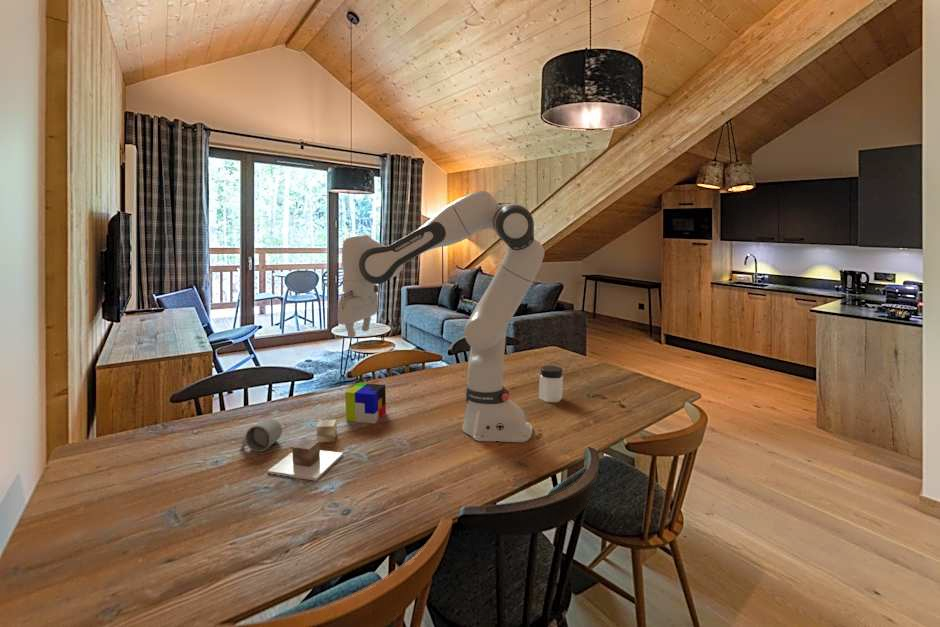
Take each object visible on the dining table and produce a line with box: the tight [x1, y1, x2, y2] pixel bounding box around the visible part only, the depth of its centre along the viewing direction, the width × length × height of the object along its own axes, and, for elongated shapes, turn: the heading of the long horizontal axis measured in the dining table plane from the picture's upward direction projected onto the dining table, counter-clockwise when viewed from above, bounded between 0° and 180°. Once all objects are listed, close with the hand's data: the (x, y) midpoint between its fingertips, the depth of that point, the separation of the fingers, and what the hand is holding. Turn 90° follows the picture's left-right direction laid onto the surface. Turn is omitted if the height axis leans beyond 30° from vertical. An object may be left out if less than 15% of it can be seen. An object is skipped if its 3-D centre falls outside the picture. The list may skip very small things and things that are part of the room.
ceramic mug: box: [240, 418, 283, 452], centre depth 138 cm, size 11×8×8 cm
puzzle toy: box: [344, 382, 387, 424], centre depth 161 cm, size 10×10×10 cm
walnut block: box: [291, 438, 321, 467], centre depth 128 cm, size 5×5×5 cm
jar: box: [538, 365, 564, 403], centre depth 180 cm, size 9×8×12 cm
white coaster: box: [267, 449, 344, 482], centre depth 128 cm, size 14×14×1 cm
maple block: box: [316, 419, 338, 443], centre depth 144 cm, size 5×5×5 cm
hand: (358, 333), depth 146 cm, fingers open, 8 cm apart
